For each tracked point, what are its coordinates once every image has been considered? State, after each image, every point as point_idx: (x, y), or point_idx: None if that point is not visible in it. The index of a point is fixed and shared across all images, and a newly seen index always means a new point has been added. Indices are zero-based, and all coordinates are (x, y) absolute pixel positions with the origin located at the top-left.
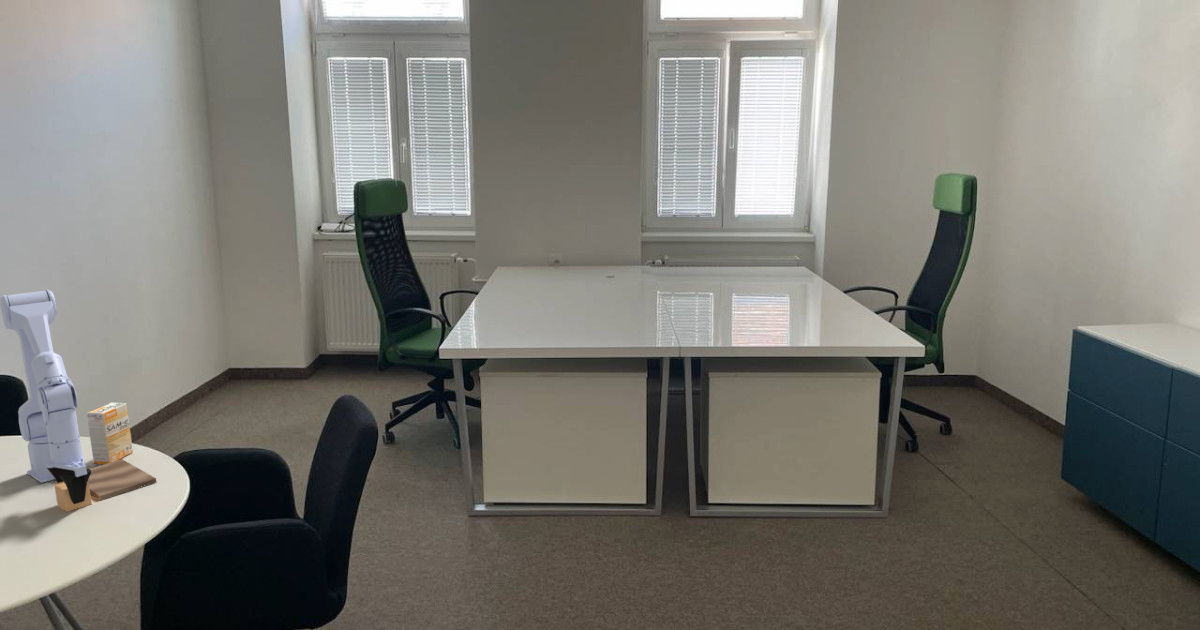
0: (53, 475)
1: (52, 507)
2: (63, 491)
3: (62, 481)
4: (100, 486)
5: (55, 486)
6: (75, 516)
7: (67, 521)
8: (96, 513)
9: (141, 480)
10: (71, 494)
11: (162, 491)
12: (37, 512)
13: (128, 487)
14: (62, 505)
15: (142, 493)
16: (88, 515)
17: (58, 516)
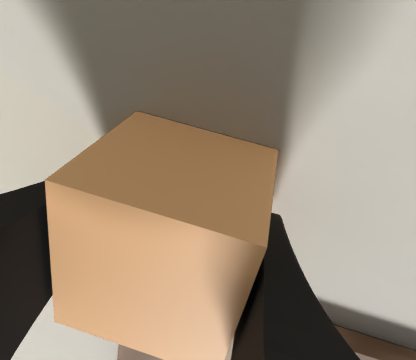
0: (304, 341)
1: (286, 119)
2: (56, 175)
3: (254, 302)
4: (231, 346)
5: (240, 227)
6: (40, 94)
7: (3, 28)
8: (2, 160)
9: None
10: (39, 185)
11: (32, 352)
12: (314, 16)
13: (118, 354)
14: (181, 135)
15: (66, 333)
16: (5, 130)
17: (116, 47)
